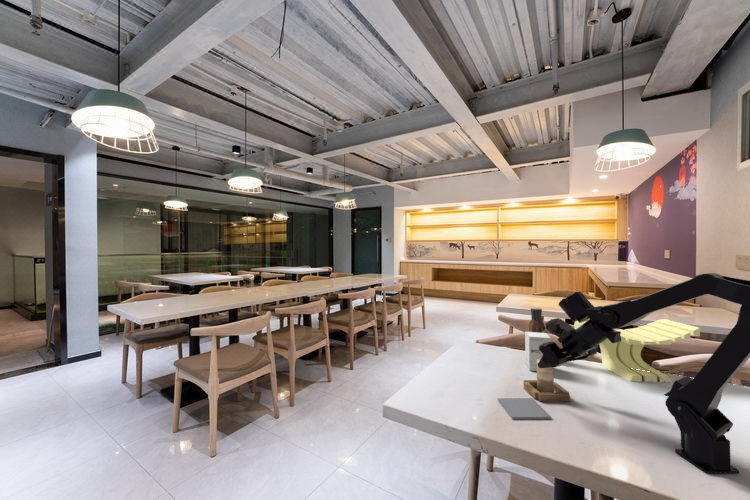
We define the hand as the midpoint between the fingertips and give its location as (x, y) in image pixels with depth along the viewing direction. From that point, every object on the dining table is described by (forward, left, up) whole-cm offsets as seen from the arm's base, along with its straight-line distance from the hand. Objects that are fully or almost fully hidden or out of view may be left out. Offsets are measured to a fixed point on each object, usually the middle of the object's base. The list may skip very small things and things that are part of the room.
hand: (548, 363), depth 90 cm
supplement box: (+21, -7, -10) cm, 24 cm away
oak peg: (+1, +1, -9) cm, 10 cm away
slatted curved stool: (+17, -38, -10) cm, 43 cm away
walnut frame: (+1, +1, -9) cm, 10 cm away
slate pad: (-8, +12, -9) cm, 17 cm away
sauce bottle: (+33, -13, -10) cm, 37 cm away
